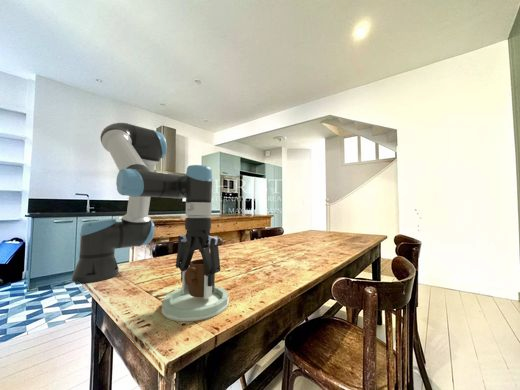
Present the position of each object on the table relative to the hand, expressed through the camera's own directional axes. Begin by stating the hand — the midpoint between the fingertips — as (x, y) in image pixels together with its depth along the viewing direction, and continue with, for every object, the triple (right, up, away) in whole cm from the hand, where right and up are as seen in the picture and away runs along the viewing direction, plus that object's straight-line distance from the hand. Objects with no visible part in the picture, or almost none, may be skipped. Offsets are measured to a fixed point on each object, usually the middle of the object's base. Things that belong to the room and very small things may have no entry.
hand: (196, 294), depth 63 cm
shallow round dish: (0, -3, 0) cm, 3 cm away
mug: (0, 0, 0) cm, 1 cm away
